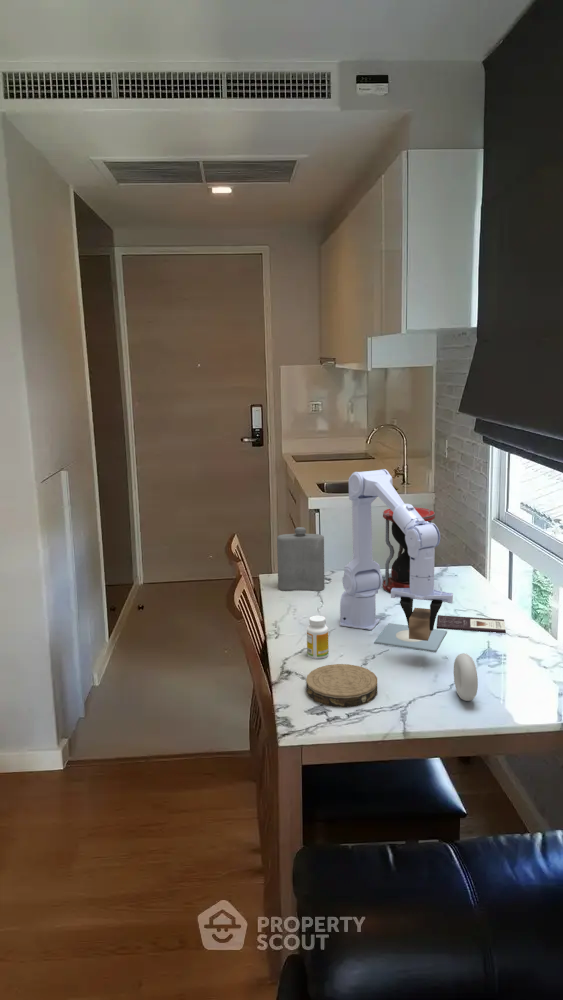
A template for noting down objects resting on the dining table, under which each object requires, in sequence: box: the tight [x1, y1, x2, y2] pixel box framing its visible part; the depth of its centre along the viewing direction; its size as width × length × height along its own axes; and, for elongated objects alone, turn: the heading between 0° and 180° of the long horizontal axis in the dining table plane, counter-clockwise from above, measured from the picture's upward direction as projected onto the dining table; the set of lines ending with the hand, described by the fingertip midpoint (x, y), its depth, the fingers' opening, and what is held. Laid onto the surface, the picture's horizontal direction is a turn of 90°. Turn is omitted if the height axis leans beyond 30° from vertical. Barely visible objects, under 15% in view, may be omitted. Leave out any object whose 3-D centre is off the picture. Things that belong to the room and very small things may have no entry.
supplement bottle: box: [306, 615, 330, 660], centre depth 177 cm, size 5×5×10 cm
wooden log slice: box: [305, 663, 378, 708], centre depth 159 cm, size 16×16×3 cm
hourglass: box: [382, 506, 436, 594], centre depth 225 cm, size 16×16×25 cm
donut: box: [453, 653, 479, 702], centre depth 153 cm, size 10×4×10 cm, turn 1°
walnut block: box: [409, 607, 432, 641], centre depth 171 cm, size 4×8×5 cm, turn 160°
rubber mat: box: [373, 622, 448, 653], centre depth 187 cm, size 16×14×1 cm
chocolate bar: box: [436, 614, 507, 634], centre depth 195 cm, size 9×1×18 cm
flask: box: [276, 526, 326, 592], centre depth 228 cm, size 15×6×20 cm, turn 86°
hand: (421, 628), depth 172 cm, fingers closed on walnut block, 4 cm apart
